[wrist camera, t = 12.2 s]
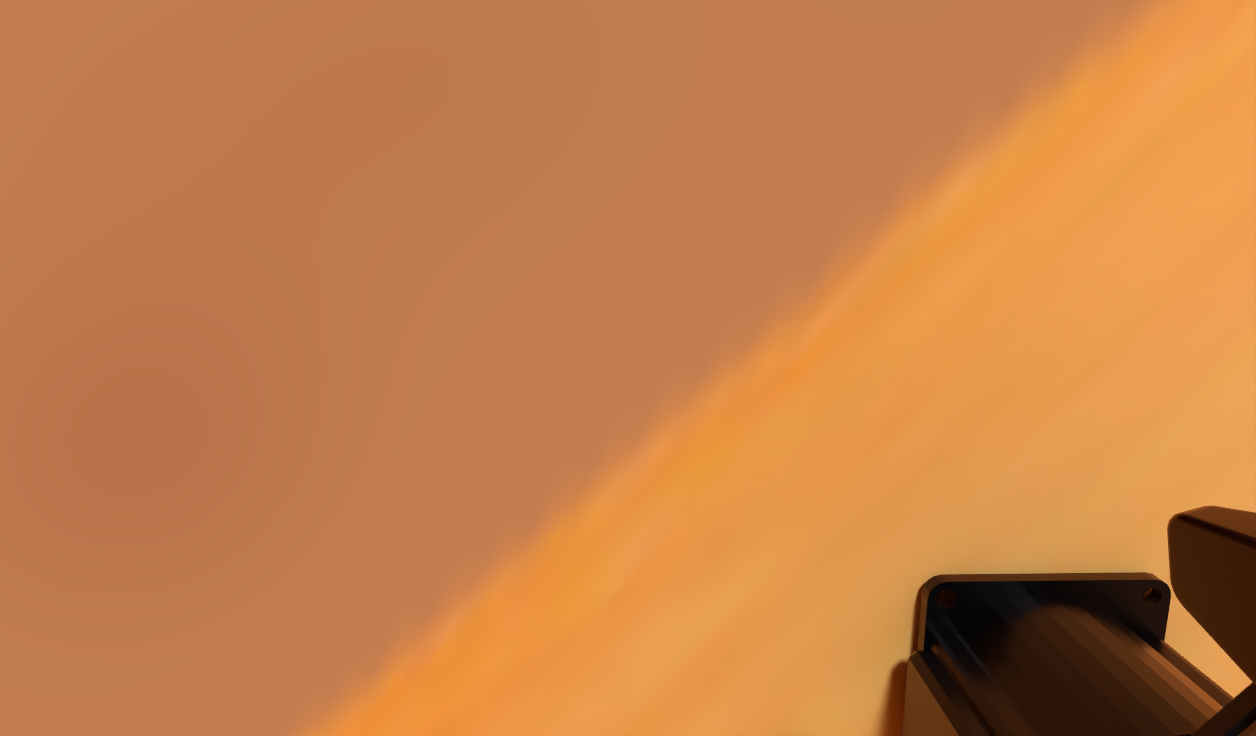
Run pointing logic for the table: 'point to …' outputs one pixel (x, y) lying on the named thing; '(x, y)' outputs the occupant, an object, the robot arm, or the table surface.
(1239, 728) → the robot arm
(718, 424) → the table surface
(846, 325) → the table surface
